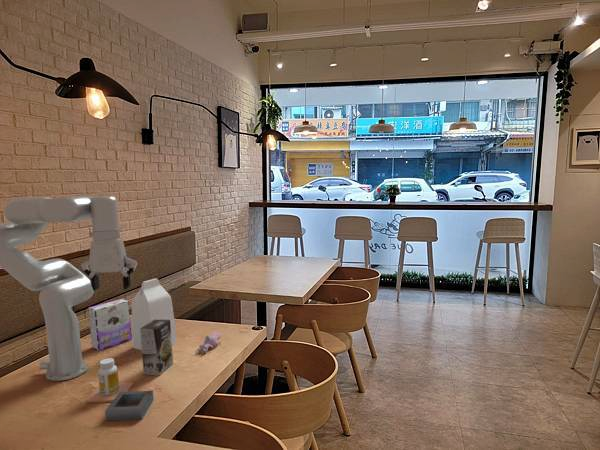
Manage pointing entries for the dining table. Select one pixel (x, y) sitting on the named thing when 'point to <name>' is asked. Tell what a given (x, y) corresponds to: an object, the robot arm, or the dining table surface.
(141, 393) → the sleeve
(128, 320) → the candy box
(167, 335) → the coffee box
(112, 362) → the supplement bottle
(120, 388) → the pad
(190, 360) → the dining table surface
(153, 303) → the milk
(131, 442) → the dining table surface
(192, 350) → the dining table surface
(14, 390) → the dining table surface
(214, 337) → the rabbit figure
